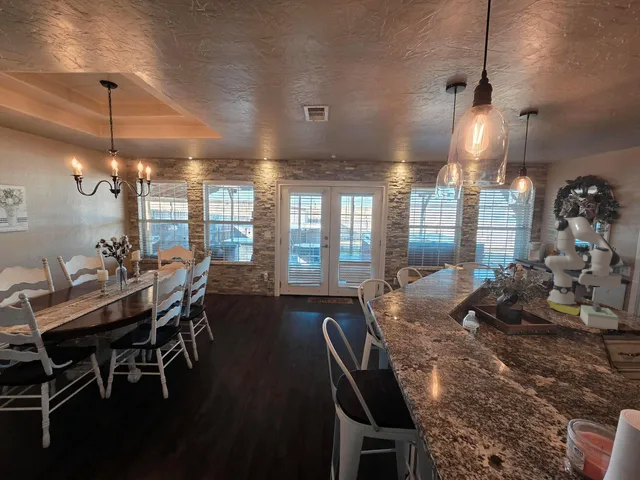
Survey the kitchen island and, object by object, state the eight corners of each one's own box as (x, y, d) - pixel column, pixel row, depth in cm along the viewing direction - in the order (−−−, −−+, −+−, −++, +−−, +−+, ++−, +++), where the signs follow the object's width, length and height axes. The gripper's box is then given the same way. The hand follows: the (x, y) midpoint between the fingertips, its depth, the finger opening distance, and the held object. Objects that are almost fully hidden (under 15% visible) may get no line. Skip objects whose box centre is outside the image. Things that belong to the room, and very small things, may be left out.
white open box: (580, 317, 203) (581, 305, 202) (607, 321, 196) (608, 308, 195) (587, 326, 186) (588, 313, 185) (617, 331, 179) (618, 317, 178)
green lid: (580, 307, 202) (581, 300, 202) (608, 311, 195) (608, 303, 194) (588, 316, 186) (588, 307, 185) (618, 320, 178) (618, 311, 178)
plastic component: (580, 309, 214) (580, 306, 207) (578, 318, 212) (578, 316, 206) (547, 301, 228) (546, 298, 221) (545, 310, 227) (543, 307, 220)
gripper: (620, 272, 185) (618, 293, 187) (578, 269, 196) (577, 289, 198) (623, 274, 180) (621, 296, 181) (580, 271, 191) (579, 291, 192)
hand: (598, 292), depth 190 cm, fingers open, 8 cm apart
